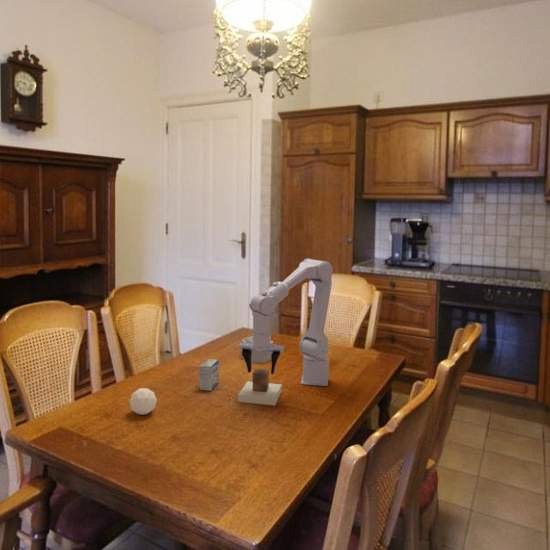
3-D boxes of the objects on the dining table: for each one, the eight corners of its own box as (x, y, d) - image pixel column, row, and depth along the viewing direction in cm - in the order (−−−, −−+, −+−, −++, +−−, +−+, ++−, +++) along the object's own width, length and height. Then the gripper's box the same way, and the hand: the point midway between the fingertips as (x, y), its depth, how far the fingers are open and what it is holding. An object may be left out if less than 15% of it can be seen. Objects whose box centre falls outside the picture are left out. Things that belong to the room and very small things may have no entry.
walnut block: (268, 386, 165) (268, 369, 164) (266, 391, 161) (266, 374, 160) (254, 385, 166) (254, 368, 165) (252, 391, 161) (252, 373, 160)
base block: (281, 392, 168) (281, 384, 168) (274, 407, 156) (275, 398, 156) (247, 389, 170) (247, 381, 170) (238, 403, 158) (238, 394, 158)
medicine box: (211, 391, 167) (211, 366, 165) (199, 390, 167) (199, 365, 166) (218, 383, 174) (218, 359, 173) (206, 381, 175) (206, 358, 174)
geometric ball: (139, 424, 147) (123, 408, 143) (140, 405, 154) (125, 389, 150) (161, 413, 146) (145, 397, 142) (161, 394, 153) (147, 378, 149)
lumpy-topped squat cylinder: (262, 364, 195) (262, 343, 193) (235, 358, 201) (235, 337, 200) (275, 357, 203) (276, 337, 202) (250, 352, 210) (250, 332, 209)
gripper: (237, 334, 157) (236, 374, 159) (282, 336, 155) (281, 378, 157) (241, 328, 164) (241, 367, 166) (285, 330, 162) (284, 370, 164)
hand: (261, 372), depth 162 cm, fingers open, 7 cm apart
